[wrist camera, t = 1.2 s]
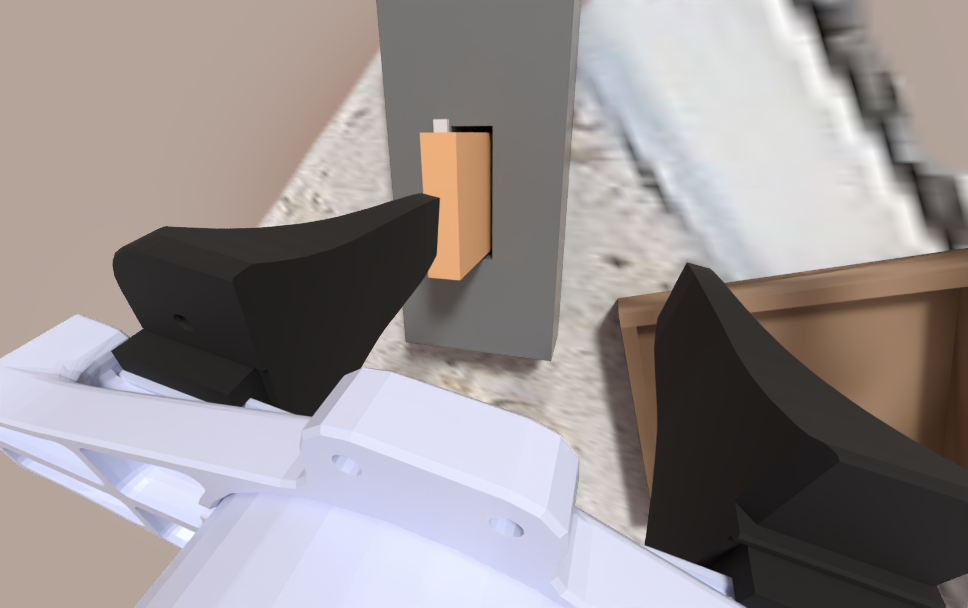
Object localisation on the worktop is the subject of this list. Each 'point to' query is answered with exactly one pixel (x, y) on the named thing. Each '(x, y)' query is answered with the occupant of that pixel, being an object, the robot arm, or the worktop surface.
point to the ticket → (459, 198)
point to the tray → (849, 342)
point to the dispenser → (516, 156)
